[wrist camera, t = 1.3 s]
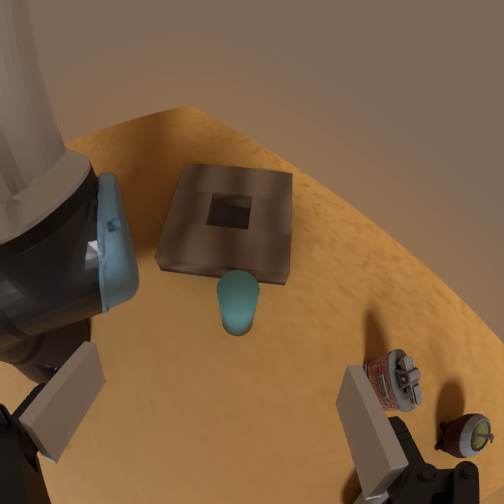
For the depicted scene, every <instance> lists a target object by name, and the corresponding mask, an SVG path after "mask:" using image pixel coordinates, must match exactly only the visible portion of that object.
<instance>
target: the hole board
mask: <svg viewBox="0 0 504 504" xmlns="http://www.w3.org/2000/svg"><path fill="white" fill-rule="evenodd" d="M291 219H292V173H285V172H277V171H269V170H260V169H251V168H241V167H230V166H218V165H204V164H188V163H185V164H184V167H183V170H182V173H181V175H180V178H179V181H178V184H177V187H176V190H175V193H174V196H173V199H172V202H171V205H170V208H169V211H168V214H167V217H166V221H165V224H164V227H163V230H162V234H161V237H160V240H159V244H158V247H157V251H156V254H155V260H156V262H157V264H158V265H159V267H160V269H161V271H168V272H176V273H184V274H191V275H199V276H207V277H215V278H222V276H223V275H225V274H226V273H228V272H230V271H234V270H242V271H246V272H248V273H250V274H251V275H253V276H254V277H255V279H256V280H257V282H259V283H268V284H277V285H285V283H286V281H287V279H288V276H289V274H290V250H291Z"/></svg>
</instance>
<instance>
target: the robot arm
mask: <svg viewBox="0 0 504 504" xmlns="http://www.w3.org/2000/svg"><path fill="white" fill-rule="evenodd" d="M138 287H139V273H138V267H137V262H136V257H135V252H134V248H133V243H132V239H131V234H130V230H129V225H128V221H127V216H126V212H125V208H124V203H123V199H122V195H121V191H120V187H119V184H118V182H117V180H116V176H115V175H114V174H112V173H108V174H105V173H101V174H100V175H99V177H97V176H96V175H95V173H94V170H93V168H92V165H91V162H90V160H89V158H88V157H87V156H86V155H83V154H81V153H78V152H75V151H71V150H69V149H67V148H66V147H65V145H64V143H63V140H62V137H61V134H60V132H59V128H58V126H57V123H56V120H55V116H54V113H53V110H52V107H51V104H50V100H49V97H48V93H47V90H46V86H45V82H44V78H43V74H42V70H41V66H40V62H39V57H38V52H37V47H36V43H35V38H34V31H33V25H32V18H31V10H30V2H29V0H0V361H2V362H6V363H9V364H12V365H13V366H14V367H16V368H17V369H18V370H19V371H20V372H22V373H23V374H24V375H25V376H26V377H28V378H29V379H30V380H32V381H34V382H36V383H38V384H39V385H38V386H36V387H35V388H34V389H33V390H32V391H31V392H30V395H28V396H27V397H26V400H25V399H24V401H23V402H22V403H21V404H20V405H19V407H18V408H17V409H16V410H15V411H14V413H13V414H12V415H10V413H9V412H8V410H7V408H6V407H5V406H4V405H3V404H0V504H51V502H50V499H49V495H48V492H47V489H46V486H45V482H44V479H43V475H42V471H41V467H40V463H39V459H38V457H37V455H36V454H37V452H38V451H40V453H41V454H42V456H43V457H44V458H46V459H48V460H50V461H52V462H54V463H56V464H57V462H58V460H59V458H60V457H61V455H62V453H63V451H64V450H65V448H66V446H67V444H68V443H69V441H70V439H71V438H72V436H73V434H74V433H75V431H76V429H77V428H78V426H79V424H80V423H81V421H82V419H83V418H84V416H85V414H86V413H87V411H88V410H89V408H90V406H91V405H92V403H93V402H94V400H95V398H96V397H97V395H98V394H99V392H100V391H101V389H102V387H103V386H104V384H105V383H106V380H105V377H104V373H103V370H102V366H101V362H100V358H99V354H98V350H97V345H96V344H95V343H91V342H89V341H90V334H89V326H88V321H87V318H89V317H92V316H95V315H98V314H101V313H105V312H108V310H109V309H110V308H113V307H115V306H117V305H119V304H121V303H124V302H126V301H128V300H130V299H131V298H132V297H133V296H134V295H135V294H136V292H137V290H138ZM336 406H337V409H338V412H339V416H340V419H341V422H342V425H343V428H344V431H345V435H346V438H347V441H348V444H349V448H350V451H351V454H352V458H353V461H354V464H355V468H356V471H357V474H358V478H359V481H360V485H361V488H362V492H363V495H364V499H365V500H367V499H372V498H376V497H380V496H382V495H383V494H384V493H385V491H386V490H387V493H388V497H387V498H386V499H385V500H384V501H383V502H382V504H479V472H478V468H477V467H476V465H475V464H474V463H472V462H470V461H462V462H460V463H459V464H457V466H456V467H455V468H454V469H437V468H436V467H435V466H433V465H431V464H428V463H425V461H424V460H423V458H422V456H421V454H420V452H419V450H418V448H417V446H416V444H415V442H414V440H413V439H412V436H411V434H410V432H409V430H408V428H407V426H406V424H405V423H404V422H403V421H402V420H401V419H400V418H399V417H398V416H395V417H389V418H387V416H386V414H385V412H384V410H383V408H382V406H381V404H380V402H379V399H378V397H377V395H376V393H375V391H374V389H373V387H372V385H371V383H370V382H369V380H368V378H367V376H366V374H365V372H364V370H363V368H362V366H361V365H347V369H346V372H345V375H344V378H343V382H342V385H341V388H340V391H339V394H338V397H337V400H336Z"/></svg>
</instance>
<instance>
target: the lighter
mask: <svg viewBox="0 0 504 504" xmlns="http://www.w3.org/2000/svg"><path fill="white" fill-rule="evenodd" d="M363 370H364V372H365V374H366V376H367V378H368V380H369V382H370V383H371V385H372V387H373V389H374V391H375V393H376V395H377V397H378V399H379V402H380V404H381V406H382V408H383V410H384V411H398V410H399V411H401V412H408V411H411V410H412V409H414V407H415V406H418V405H420V404H422V402H423V398H422V393H421V389H420V385H419V381H418V380H419V378H420V371H419V369H418V368H416V367H415V365H414V362H413V358H412V356H411V355H408V356H407V355H406V353H405V352H404V351H403V350H401V349H396V350H393V351H391V352H389V354H386V355H383V356H381V357H378V358H372V359H369V360H367V361H366V362H365V363H364V365H363Z"/></svg>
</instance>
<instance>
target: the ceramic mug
mask: <svg viewBox="0 0 504 504" xmlns="http://www.w3.org/2000/svg"><path fill="white" fill-rule="evenodd" d="M387 497H388V493H387V490H386V491H385V493H384V494H383V495H382V496H380V497H376V498H372V499H367V500H365V499H364V495H363V492H361V494H360V495H359V496H358V498H357V499H356V500H355V501H354V502H353V504H382V502H383V501H384V500H385V499H386V498H387Z"/></svg>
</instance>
